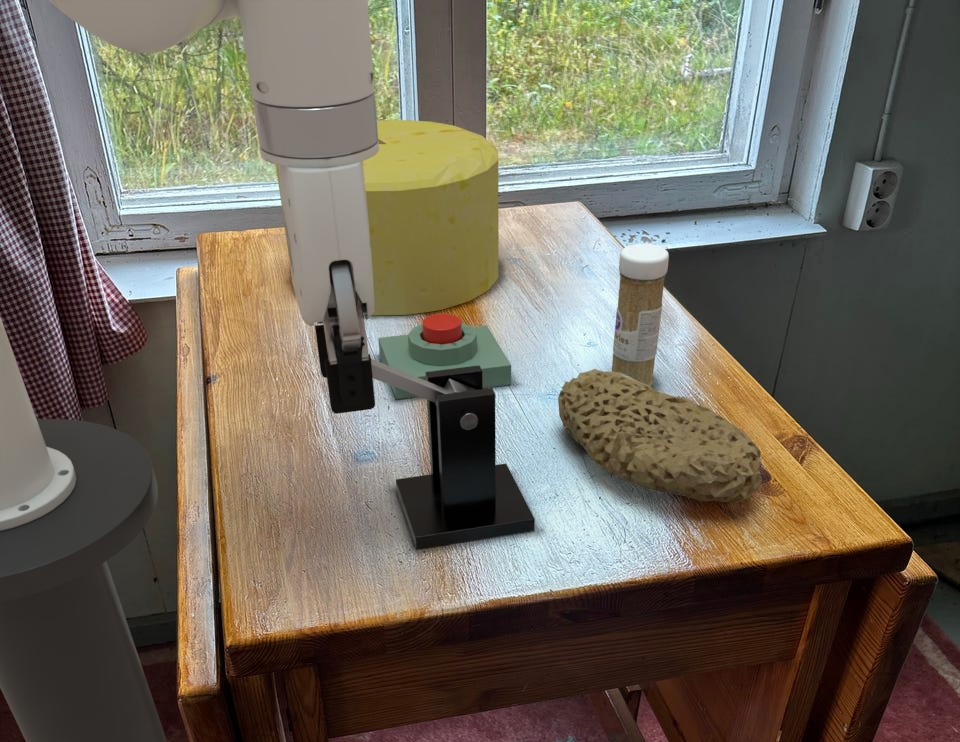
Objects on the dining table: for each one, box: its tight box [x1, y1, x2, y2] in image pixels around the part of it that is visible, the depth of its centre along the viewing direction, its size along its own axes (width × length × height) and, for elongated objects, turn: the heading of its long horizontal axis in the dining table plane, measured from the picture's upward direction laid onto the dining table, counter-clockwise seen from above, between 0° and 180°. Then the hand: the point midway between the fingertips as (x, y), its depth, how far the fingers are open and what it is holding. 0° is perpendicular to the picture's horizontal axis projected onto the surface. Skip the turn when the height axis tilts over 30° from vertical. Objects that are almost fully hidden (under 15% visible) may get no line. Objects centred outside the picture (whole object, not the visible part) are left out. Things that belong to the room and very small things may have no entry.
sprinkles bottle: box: [610, 243, 670, 388], centre depth 95 cm, size 5×5×14 cm
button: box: [421, 313, 463, 344], centre depth 99 cm, size 4×4×2 cm
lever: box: [334, 334, 476, 406], centre depth 74 cm, size 12×5×2 cm, turn 104°
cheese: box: [275, 119, 499, 316], centre depth 118 cm, size 26×26×15 cm
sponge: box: [557, 368, 763, 503], centre depth 85 cm, size 13×8×20 cm
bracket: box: [395, 365, 536, 550], centre depth 79 cm, size 10×9×12 cm
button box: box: [377, 321, 512, 400], centre depth 101 cm, size 12×10×4 cm
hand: (347, 389), depth 73 cm, fingers closed on lever, 5 cm apart
